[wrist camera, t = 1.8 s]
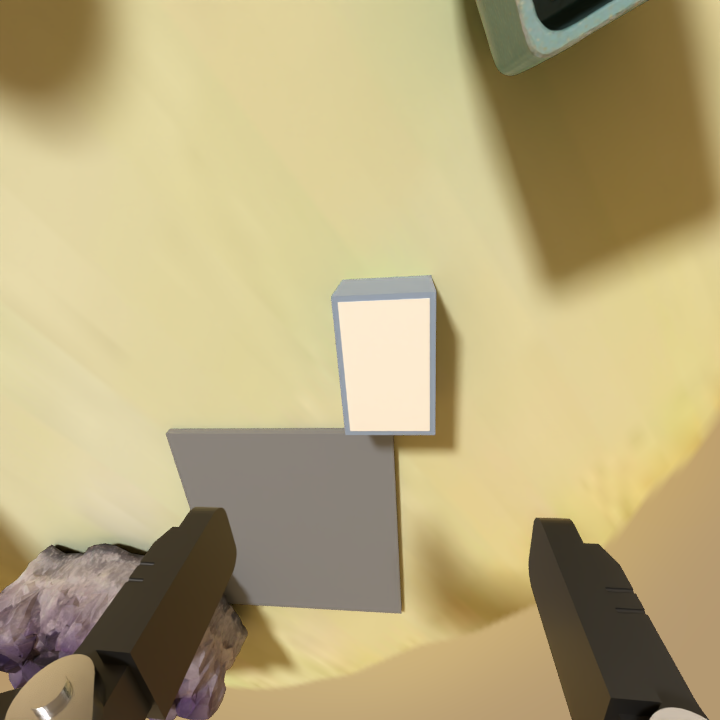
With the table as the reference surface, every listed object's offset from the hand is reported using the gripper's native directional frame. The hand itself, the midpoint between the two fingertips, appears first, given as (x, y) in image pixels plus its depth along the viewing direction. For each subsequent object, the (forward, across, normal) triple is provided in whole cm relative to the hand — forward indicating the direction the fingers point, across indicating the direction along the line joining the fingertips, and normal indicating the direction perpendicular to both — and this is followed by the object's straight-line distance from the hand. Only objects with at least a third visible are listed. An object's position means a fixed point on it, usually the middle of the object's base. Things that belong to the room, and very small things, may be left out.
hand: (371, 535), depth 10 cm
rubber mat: (+14, +8, +15) cm, 23 cm away
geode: (+14, +23, +23) cm, 35 cm away
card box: (+15, 0, 0) cm, 15 cm away
